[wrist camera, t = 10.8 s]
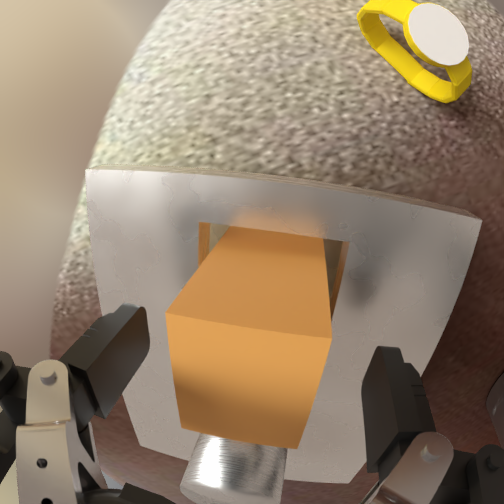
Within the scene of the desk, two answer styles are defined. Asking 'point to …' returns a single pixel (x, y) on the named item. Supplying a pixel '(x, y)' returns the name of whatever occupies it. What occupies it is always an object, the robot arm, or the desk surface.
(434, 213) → the two-tier square platform
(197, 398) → the orange rectangular prism
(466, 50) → the watch
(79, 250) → the desk surface
